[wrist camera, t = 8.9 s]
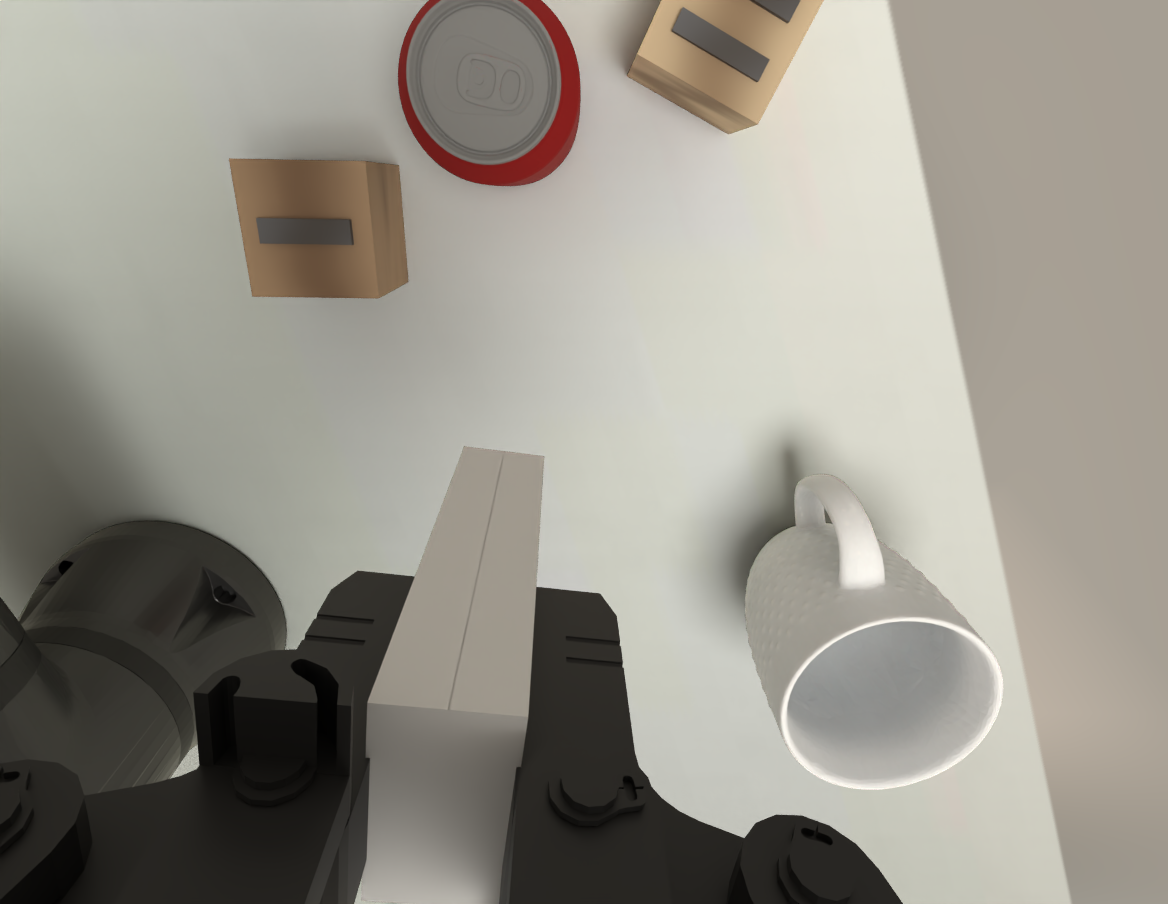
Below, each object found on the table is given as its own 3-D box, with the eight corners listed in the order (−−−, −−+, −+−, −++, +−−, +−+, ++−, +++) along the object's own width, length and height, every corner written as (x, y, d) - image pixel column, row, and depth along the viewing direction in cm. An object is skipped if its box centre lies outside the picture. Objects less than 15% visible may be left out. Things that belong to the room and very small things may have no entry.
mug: (704, 457, 41) (757, 570, 29) (881, 421, 40) (1013, 521, 28) (734, 646, 46) (790, 808, 34) (890, 618, 46) (1004, 773, 34)
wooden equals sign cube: (626, 76, 33) (637, 52, 27) (685, -53, 31) (710, -108, 25) (728, 134, 34) (759, 123, 28) (790, 13, 32) (838, -26, 26)
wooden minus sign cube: (301, 279, 37) (249, 297, 31) (285, 163, 34) (225, 158, 29) (408, 281, 37) (377, 299, 31) (399, 165, 35) (363, 161, 29)
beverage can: (458, 23, 32) (396, -63, 21) (592, 58, 33) (600, -9, 22) (439, 170, 35) (375, 161, 23) (564, 199, 35) (560, 204, 24)
